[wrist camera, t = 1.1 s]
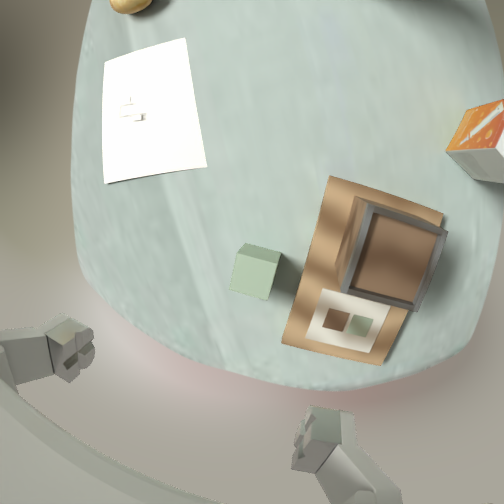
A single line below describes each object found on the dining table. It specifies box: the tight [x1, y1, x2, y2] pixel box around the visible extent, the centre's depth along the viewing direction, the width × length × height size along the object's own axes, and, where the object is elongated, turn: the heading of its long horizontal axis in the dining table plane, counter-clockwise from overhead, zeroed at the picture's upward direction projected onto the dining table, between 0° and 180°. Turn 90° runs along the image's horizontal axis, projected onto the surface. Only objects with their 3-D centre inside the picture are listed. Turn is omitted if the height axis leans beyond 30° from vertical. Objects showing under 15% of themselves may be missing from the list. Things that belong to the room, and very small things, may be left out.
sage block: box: [229, 243, 281, 300], centre depth 38 cm, size 5×5×5 cm
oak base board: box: [281, 176, 448, 366], centre depth 33 cm, size 24×16×11 cm, turn 168°
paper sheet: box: [102, 38, 207, 184], centre depth 36 cm, size 24×29×1 cm
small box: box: [446, 99, 504, 184], centre depth 24 cm, size 8×6×13 cm
